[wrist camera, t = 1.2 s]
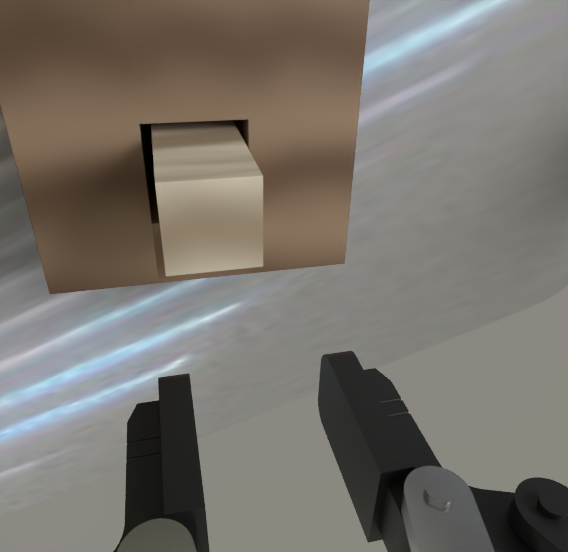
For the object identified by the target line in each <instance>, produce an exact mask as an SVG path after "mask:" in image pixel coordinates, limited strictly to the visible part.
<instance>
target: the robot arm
mask: <svg viewBox="0 0 568 552" xmlns="http://www.w3.org/2000/svg"><path fill="white" fill-rule="evenodd" d="M158 383H159V401H152V402H145V403H139V404H137V405H136V407H135V409H134V411H133V413H132V415H131V417H130V418H129V420H128V422H127V462H126V500H125V527H124V532H123V535H122V538H121V540H120V542H119V544H118V546H117V547H116V549H115V550H114V552H209V544H208V533H207V523H206V512H205V503H204V494H203V486H202V477H201V470H200V460H199V453H198V444H197V435H196V427H195V418H194V410H193V401H192V393H191V384H190V376H189V374H182V375H175V376H168V377H161V378H158ZM318 406H319V413H320V418H321V421H322V424H323V427H324V430H325V432H326V435H327V438H328V440H329V442H330V445H331V448H332V450H333V453H334V455H335V458H336V461H337V463H338V466H339V469H340V471H341V473H342V476H343V479H344V482H345V484H346V487H347V489H348V492H349V494H350V497H351V500H352V502H353V505H354V507H355V510H356V513H357V515H358V518H359V520H360V523H361V525H362V528H363V531H364V533H365V536H366V538H367V541H368V542H373V541H377V540H382V539H383V541H384V544H385V546H386V548H387V551H388V552H568V488H567V487H566V486H564V485H562V484H560V483H558V482H556V481H553V480H550V479H546V478H530V479H526V480H524V481H523V482H521V483H520V484H519V485H518V487H517V489H516V491H515V493H511V492H502V491H493V490H484V489H478V488H474V487H471V486H468V485H467V484H466V483H465V481H464V480H463V479H461V478H460V477H459V476H458V475H456V474H455V473H453V472H451V471H449V470H447V469H444V468H442V466H441V465H440V463H439V462H438V460H437V459H436V457H435V455H434V454H433V452H432V450H431V448H430V447H429V445H428V443H427V442H426V440H425V438H424V436H423V435H422V433H421V431H420V430H419V428H418V426H417V424H416V423H415V421H414V420H413V418H412V416H411V414H409V413H408V409H407V407H406V406H405V404H404V402H403V401H401V397H400V396H399V394H398V392H397V390H396V389H395V387H394V385H393V384H392V382H391V381H390V380H389V379H388V378H387V377H385V376H384V375H383V374H382V373H380V372H379V371H378V370H377V369H375V368H374V369H367V370H363V368H362V366H361V365H360V363H359V361H358V359H357V357H356V355H355V354H354V352H352V351H347V352H340V353H333V354H326V355H323V356H322V358H321V368H320V381H319V394H318Z"/></svg>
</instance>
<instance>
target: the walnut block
mask: <svg viewBox="0 0 568 552" xmlns="http://www.w3.org/2000/svg"><path fill="white" fill-rule="evenodd" d="M369 1H370V0H0V105H1V109H2V113H3V116H4V120H5V124H6V128H7V132H8V136H9V139H10V143H11V147H12V151H13V155H14V159H15V162H16V166H17V170H18V174H19V178H20V181H21V185H22V189H23V193H24V197H25V201H26V204H27V208H28V212H29V216H30V220H31V224H32V227H33V231H34V235H35V239H36V243H37V247H38V250H39V254H40V258H41V262H42V266H43V270H44V273H45V277H46V281H47V285H48V289H49V292H50V294H56V293H66V292H75V291H85V290H95V289H104V288H114V287H123V286H133V285H142V284H152V283H162V282H171V281H181V280H190V279H200V278H209V277H219V276H229V275H238V274H248V273H257V272H267V271H276V270H286V269H296V268H305V267H315V266H324V265H334V264H343V263H345V252H346V242H347V232H348V221H349V211H350V200H351V190H352V179H353V169H354V158H355V148H356V137H357V127H358V116H359V106H360V95H361V85H362V75H363V64H364V54H365V43H366V33H367V22H368V12H369ZM221 120H233V122H234V124H235V125H236V127H237V129H238V131H239V133H240V135H241V136H242V138H243V140H244V142H245V144H246V145H247V147H248V149H249V151H250V153H251V155H252V156H253V158H254V160H255V162H256V164H257V165H258V167H259V169H260V171H261V173H262V175H263V267H254V268H244V269H234V270H224V271H214V272H205V273H195V274H185V275H175V276H166V273H165V265H164V256H163V247H162V239H161V230H160V222H159V213H158V205H157V196H156V187H155V176H154V168H152V169H149V164H148V155H147V147H146V139H145V131H144V124H150V123H174V122H197V121H221Z"/></svg>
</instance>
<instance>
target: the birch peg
mask: <svg viewBox="0 0 568 552" xmlns="http://www.w3.org/2000/svg"><path fill="white" fill-rule="evenodd" d="M151 132H152V147H153V161H154V176H155V187H156V196H157V205H158V213H159V222H160V230H161V239H162V247H163V256H164V265H165V273H166V276H175V275H185V274H195V273H205V272H214V271H224V270H234V269H244V268H254V267H263V175H262V173H261V171H260V169H259V167H258V165H257V164H256V162H255V160H254V158H253V156H252V155H251V153H250V151H249V149H248V147H247V145H246V144H245V142H244V140H243V138H242V136H241V135H240V133H239V131H238V129H237V127H236V125H235V124H234V122H233V120H225V121H201V122H178V123H154V124H151Z"/></svg>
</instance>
